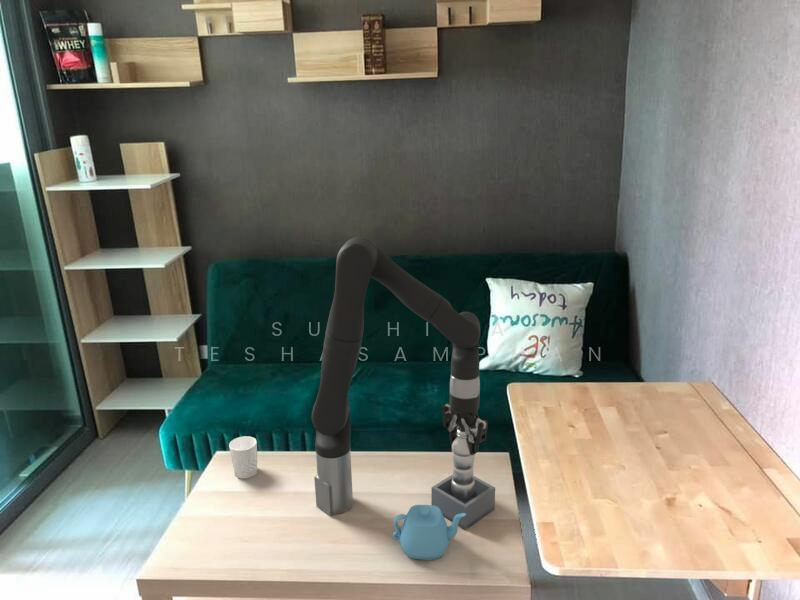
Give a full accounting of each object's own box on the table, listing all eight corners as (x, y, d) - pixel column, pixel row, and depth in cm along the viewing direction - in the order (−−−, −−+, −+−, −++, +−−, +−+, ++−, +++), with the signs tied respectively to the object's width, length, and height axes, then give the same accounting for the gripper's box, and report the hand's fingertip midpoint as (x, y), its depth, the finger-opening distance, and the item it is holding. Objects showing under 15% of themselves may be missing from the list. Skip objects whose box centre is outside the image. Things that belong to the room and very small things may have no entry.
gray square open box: (465, 530, 163) (465, 507, 160) (431, 509, 171) (431, 487, 169) (494, 509, 170) (495, 487, 168) (461, 490, 179) (461, 469, 176)
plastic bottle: (477, 489, 171) (479, 424, 165) (471, 504, 165) (473, 437, 159) (454, 485, 173) (455, 420, 167) (447, 499, 167) (448, 433, 161)
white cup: (238, 464, 193) (235, 435, 190) (263, 465, 192) (260, 436, 189) (228, 479, 186) (224, 449, 183) (254, 481, 185) (250, 451, 182)
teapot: (466, 528, 147) (389, 525, 149) (465, 566, 151) (390, 562, 152) (465, 495, 159) (394, 492, 161) (465, 531, 162) (395, 527, 164)
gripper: (433, 386, 162) (433, 443, 167) (477, 405, 152) (475, 465, 157) (453, 377, 167) (452, 433, 172) (496, 395, 157) (494, 453, 162)
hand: (463, 448), depth 165 cm, fingers closed on plastic bottle, 6 cm apart
